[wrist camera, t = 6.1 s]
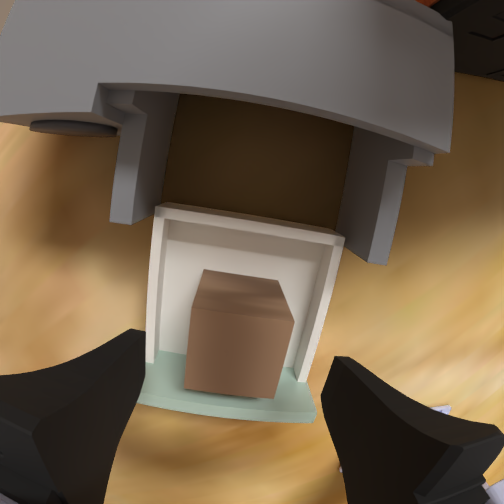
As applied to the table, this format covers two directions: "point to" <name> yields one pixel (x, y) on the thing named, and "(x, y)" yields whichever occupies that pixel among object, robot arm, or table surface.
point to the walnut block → (237, 335)
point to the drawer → (243, 263)
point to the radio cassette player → (475, 34)
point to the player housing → (238, 85)
